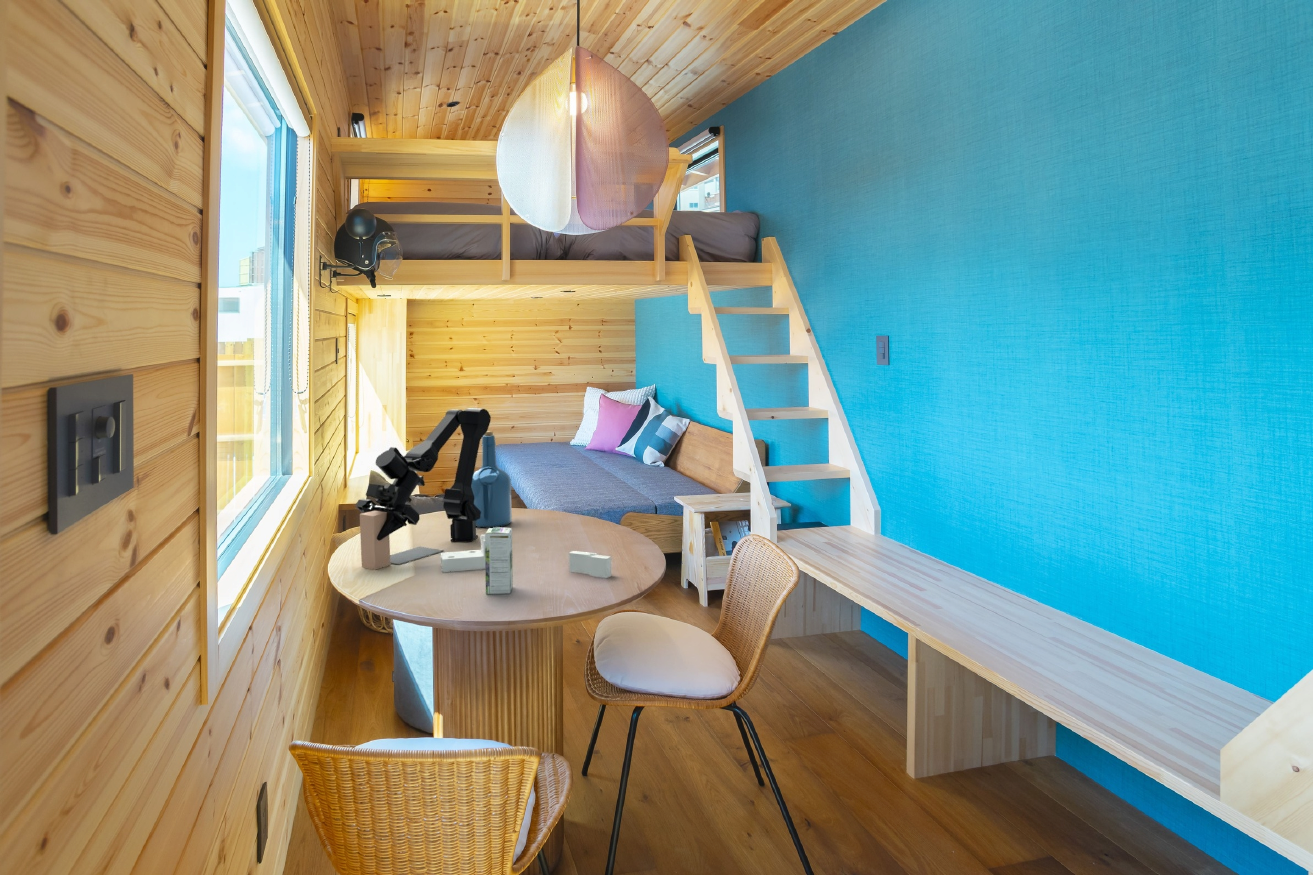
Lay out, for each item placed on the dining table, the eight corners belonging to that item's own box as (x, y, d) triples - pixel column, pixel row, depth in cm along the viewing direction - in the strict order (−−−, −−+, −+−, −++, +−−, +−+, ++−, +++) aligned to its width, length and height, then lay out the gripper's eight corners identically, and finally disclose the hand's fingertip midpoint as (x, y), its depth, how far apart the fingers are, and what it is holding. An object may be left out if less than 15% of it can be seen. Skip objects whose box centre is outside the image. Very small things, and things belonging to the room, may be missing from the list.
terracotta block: (376, 562, 216) (374, 510, 214) (390, 565, 213) (388, 512, 212) (361, 566, 212) (359, 513, 210) (375, 569, 209) (373, 516, 208)
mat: (419, 547, 232) (419, 546, 232) (443, 551, 227) (443, 550, 227) (374, 560, 218) (374, 559, 218) (398, 565, 213) (398, 563, 213)
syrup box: (488, 587, 193) (486, 527, 192) (513, 586, 194) (512, 526, 192) (485, 594, 188) (483, 532, 186) (511, 593, 188) (509, 532, 187)
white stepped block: (558, 571, 208) (558, 549, 208) (600, 566, 213) (599, 544, 213) (579, 587, 195) (579, 563, 194) (623, 580, 200) (623, 558, 199)
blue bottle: (472, 520, 268) (469, 429, 264) (513, 519, 269) (510, 428, 266) (467, 529, 254) (464, 433, 251) (510, 528, 256) (507, 433, 252)
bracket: (491, 561, 217) (490, 534, 217) (494, 568, 211) (493, 540, 210) (441, 566, 213) (440, 537, 213) (442, 573, 207) (441, 543, 206)
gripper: (359, 469, 218) (326, 517, 209) (409, 474, 209) (377, 524, 200) (383, 493, 225) (352, 540, 217) (433, 499, 216) (403, 549, 208)
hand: (370, 538), depth 210 cm, fingers closed on terracotta block, 5 cm apart
